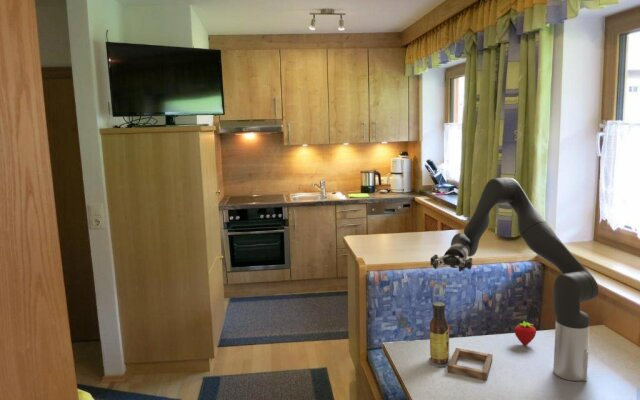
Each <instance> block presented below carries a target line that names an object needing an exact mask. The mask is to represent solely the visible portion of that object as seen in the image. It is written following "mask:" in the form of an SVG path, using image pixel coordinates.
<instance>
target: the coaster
mask: <svg viewBox="0 0 640 400" xmlns="http://www.w3.org/2000/svg"><path fill="white" fill-rule="evenodd" d="M450 360H451V359H449V360H448V362H447V363H445V364H437V363H434V362H432V361H431V356H430V357H429V359H428V364H430V366H433V367H435V368H442V369H444V368H448V365H449V362H450Z"/></svg>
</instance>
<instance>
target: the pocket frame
mask: <svg viewBox="0 0 640 400" xmlns="http://www.w3.org/2000/svg"><path fill="white" fill-rule="evenodd" d="M460 359H466V360H471V361H477V362H481V363H482V362H483V363H484V365H483V368H482V369H479V368H475V367H469V366H465V365H459V364H458V362H459V360H460ZM449 360H450V362H449V365H448V367H447V373H448V374H453V375H457V376H462V377H468V378H473V379H477V380H483V381H488V378H489V375H490V371H491V369H492V364H493V354H490V353H485V352H480V351H475V350H469V349H464V348H460V347H459V348H457V347H455V349H454V352H453V353H452V356H451V358H450V359H449Z"/></svg>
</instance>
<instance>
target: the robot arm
mask: <svg viewBox="0 0 640 400" xmlns="http://www.w3.org/2000/svg"><path fill="white" fill-rule="evenodd" d="M504 203H505V204H506V203H507V204H508V205H510V207H511V208H512V209H513V211H514V212H515V213H516V215H517V225H518V232H519V235H520V236H521V238H522V240H523V241H524V242H525V244H526V245H527V246H528V247H529V249H530V250H531V251H532V252H533V253H535V254H536V255H538V256H539V257H541V258H543V259H544V260H545V261H547V262H549V263H551V264H552V265H553V266H555V267H556V268H557V269H558V270H559V271H560V272H561V274H559V275H557V276H556V278H555V279H554V284H553V311H554V314H555V329H554V330H555V332H554V333H555V334H554V335H555V336H554V349H553V350H554V351H553V368H552V369H553V373H554V375H556V376H557V377H559V378H561V379H563V380H567V381H571V382H581V381H582V382H583V381H584V382H587V380H588V366H589V365H588V364H589V338H590V337H589V336H590V322H591V320H590V319H591V318H590V316H589V314H588V313H586V312H585V311H582V310H581V307H580V305H581V303H584V302H587V301H592V300H594V299H595V298H596V297H598V295H599V285H598V282H597V280H596V278H595V277H594V276H593V274H591V273H590V271H589V270H588V269H587V268H586V267H584V264H582V262H580V261H579V260H578V259H577V258H576V257H575V256H574V255H573V254H572V252H570V250H569V249H568V247H567V246H566V245H565V244H564V243H563V242H562V241H561V239H560V238H559V237H558V235H557V234H556V233H555V232H554V230H553V229H552V227H550V225H549V224H548V223H547V221H546V220H545V219H544V218H543V217H542V215H541V214H540V212H539V211H538V210H537V209H536V207H535V206H534V205H533V204H532V202H531V200H530V199H529V197H528V195H527V194H526V192H525V190H523V188H522V186H521V185H520V182H518V181H517V180H516V179H515V178H513V177H507V176H506V177H495V178H491V179H489V180H488V181H487V183H486V184H485V186H484V188H483V191H482V193H481V195H480V198H479V200H478V203H477V204H476V205H477V206H476V209H475V210H474V212H473V215H472V216H471V218H470V219H469V221H468V222H467V224H466V225H465V226H464V229H463V233H462V232H458V233H456V234H455V235H454V236H453V237H452V238H451V240H450V241H451V242H450V247H449V248H448V249H447V250H446V251H445V253H444V255H442V256H439V255H438V254H434V255H432V256H431V258H430V266H432V268H434V269H435V270H436V269H438V268H439V267H450V268H452V269H458V272H462V271H464V270H465V269H467V270H471V269H472V267H473V258H472V257H473V256H474V255H475V254H476V253H477V251H478V248H479V243H480V240H481V238H482V236H483V234H484V233H485V232H486V230H487V229H488V228H489V226H490V225H489V224H490V212H491V210H492V209H493V208H494V207H495V206H496V205H497V204H504Z"/></svg>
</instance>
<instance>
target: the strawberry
mask: <svg viewBox="0 0 640 400" xmlns="http://www.w3.org/2000/svg"><path fill="white" fill-rule="evenodd" d="M524 319H525V320H527V318H524ZM525 320H523V322H522V323H520V322H519V323H517V325H516V326H514V327H515V328H514V335H515V337H516V338H517V339H518V341H519V342H520V343H521V344H522V345H523V346H528V345H529V344H530V343H531V342H532V341H533V340H534V338H535V337H536V334H537V329H536V327H535V326H534V324H533V323H530V322H528V321H525Z"/></svg>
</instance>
